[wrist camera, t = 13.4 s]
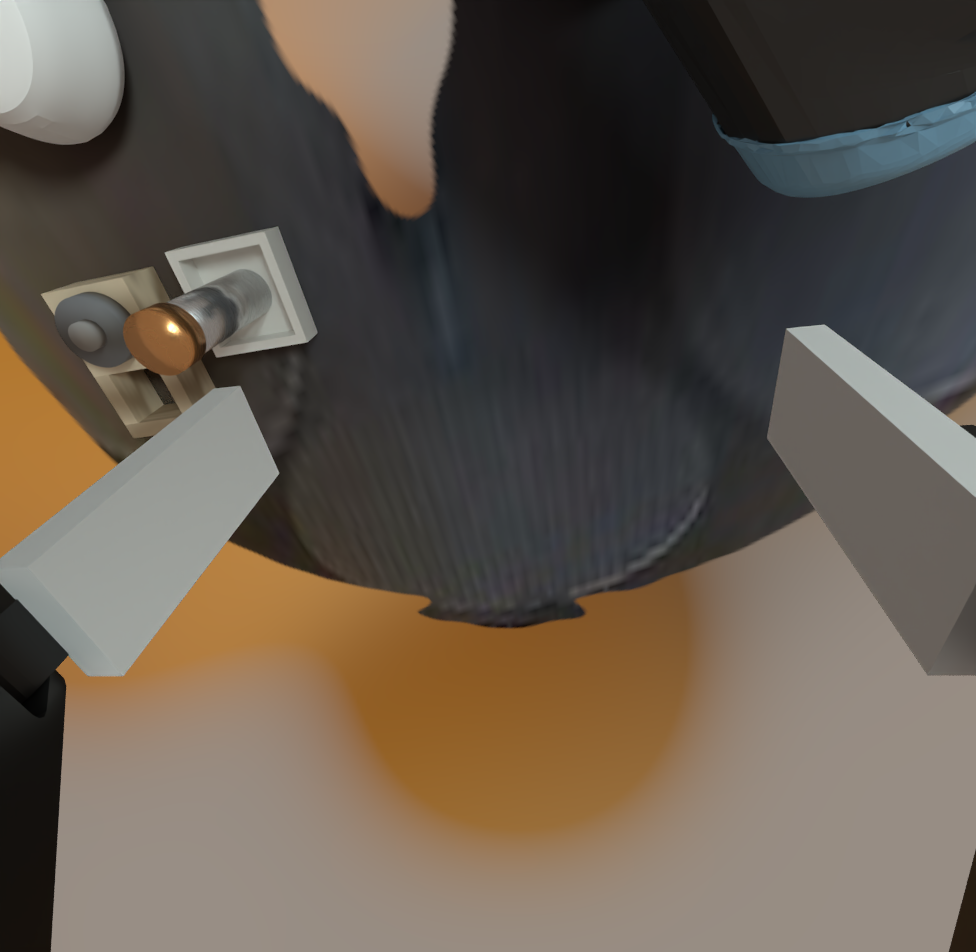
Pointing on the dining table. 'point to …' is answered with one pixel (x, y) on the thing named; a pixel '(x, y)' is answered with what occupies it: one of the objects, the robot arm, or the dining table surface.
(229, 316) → the pin
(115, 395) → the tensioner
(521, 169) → the dining table surface
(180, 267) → the tray
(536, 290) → the dining table surface
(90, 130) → the teapot
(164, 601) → the robot arm
